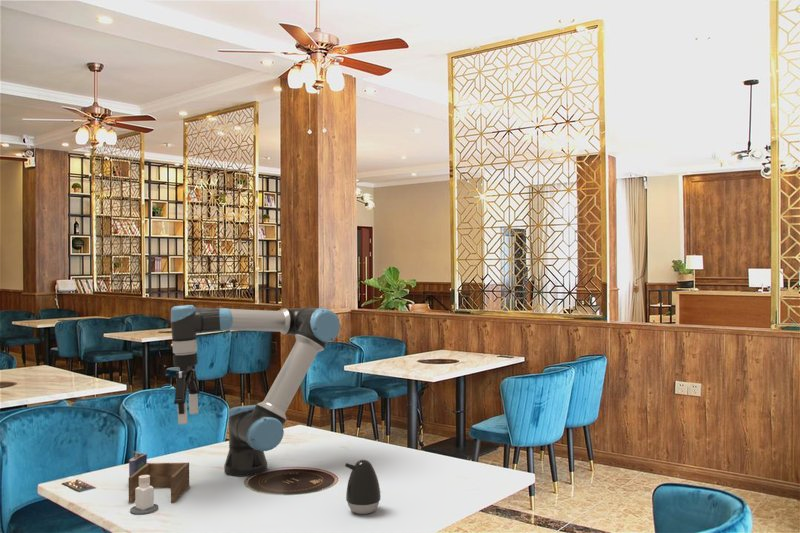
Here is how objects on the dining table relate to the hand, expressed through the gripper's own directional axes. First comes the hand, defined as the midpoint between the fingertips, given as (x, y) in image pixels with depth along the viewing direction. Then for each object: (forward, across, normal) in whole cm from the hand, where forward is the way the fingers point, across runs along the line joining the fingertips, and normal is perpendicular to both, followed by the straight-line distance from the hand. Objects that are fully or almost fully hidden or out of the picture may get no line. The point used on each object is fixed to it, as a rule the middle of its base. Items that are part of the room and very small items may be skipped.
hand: (188, 418), depth 221 cm
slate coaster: (+23, +16, -10) cm, 30 cm away
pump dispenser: (+26, +22, +55) cm, 65 cm away
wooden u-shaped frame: (+24, +2, -10) cm, 26 cm away
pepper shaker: (+23, +16, -10) cm, 30 cm away
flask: (+24, -12, -22) cm, 34 cm away
